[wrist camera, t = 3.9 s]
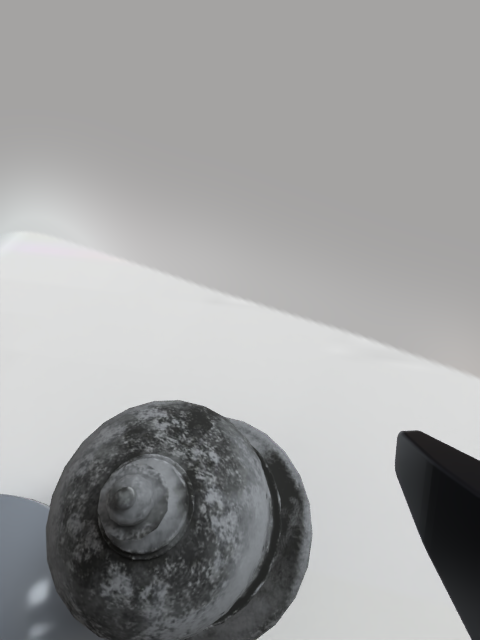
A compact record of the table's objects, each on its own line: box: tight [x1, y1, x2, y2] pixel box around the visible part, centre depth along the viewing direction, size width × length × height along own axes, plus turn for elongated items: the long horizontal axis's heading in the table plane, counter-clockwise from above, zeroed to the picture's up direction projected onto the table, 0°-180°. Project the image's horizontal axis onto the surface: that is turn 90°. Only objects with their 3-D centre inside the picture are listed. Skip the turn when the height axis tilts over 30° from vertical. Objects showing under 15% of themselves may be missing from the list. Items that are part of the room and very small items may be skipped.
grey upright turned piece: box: [46, 400, 312, 640], centre depth 9 cm, size 6×6×12 cm
